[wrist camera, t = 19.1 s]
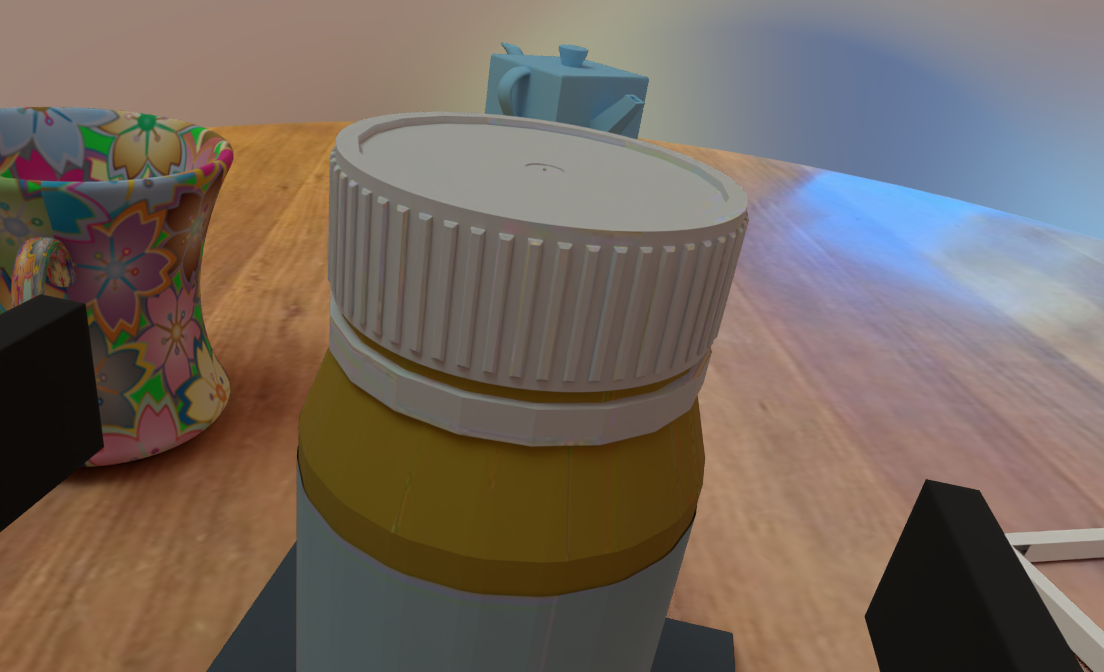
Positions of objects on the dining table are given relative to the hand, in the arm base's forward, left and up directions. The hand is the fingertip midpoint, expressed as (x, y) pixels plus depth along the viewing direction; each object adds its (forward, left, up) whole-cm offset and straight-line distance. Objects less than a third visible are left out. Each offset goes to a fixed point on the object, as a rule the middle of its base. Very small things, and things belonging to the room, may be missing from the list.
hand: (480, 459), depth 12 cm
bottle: (0, +2, -11) cm, 11 cm away
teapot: (-7, +62, -11) cm, 63 cm away
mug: (-16, +12, -11) cm, 23 cm away
